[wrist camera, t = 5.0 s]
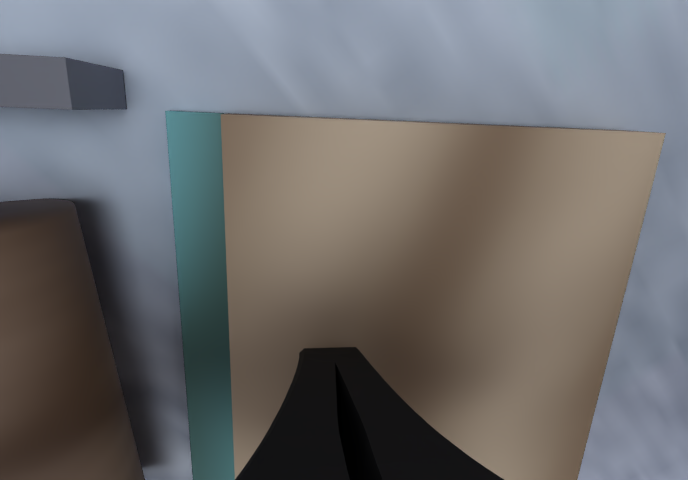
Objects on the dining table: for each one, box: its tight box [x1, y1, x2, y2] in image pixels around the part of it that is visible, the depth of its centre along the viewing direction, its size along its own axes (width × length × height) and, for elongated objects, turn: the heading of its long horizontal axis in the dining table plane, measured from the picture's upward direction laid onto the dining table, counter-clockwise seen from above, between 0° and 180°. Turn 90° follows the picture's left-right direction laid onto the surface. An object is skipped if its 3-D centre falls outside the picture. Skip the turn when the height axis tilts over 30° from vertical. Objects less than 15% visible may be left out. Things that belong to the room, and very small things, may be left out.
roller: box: [0, 199, 145, 480], centre depth 9 cm, size 4×8×4 cm
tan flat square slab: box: [165, 111, 666, 480], centre depth 11 cm, size 11×12×1 cm
